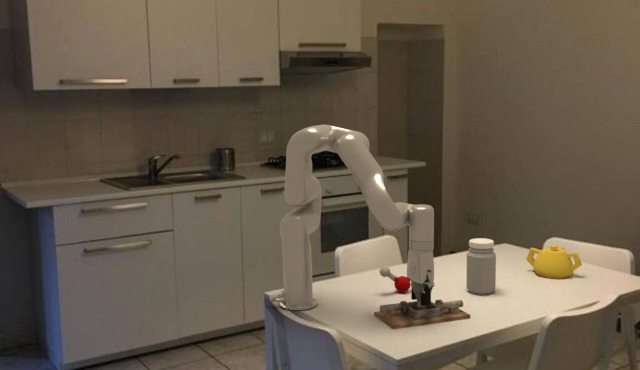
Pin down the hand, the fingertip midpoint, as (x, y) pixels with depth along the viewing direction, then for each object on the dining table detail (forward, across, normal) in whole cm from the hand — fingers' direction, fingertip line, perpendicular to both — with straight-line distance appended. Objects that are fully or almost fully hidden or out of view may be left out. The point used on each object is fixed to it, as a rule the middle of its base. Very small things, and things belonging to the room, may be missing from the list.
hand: (421, 301), depth 221 cm
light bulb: (+2, 0, 0) cm, 2 cm away
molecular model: (+5, -26, +6) cm, 27 cm away
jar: (+5, -16, +31) cm, 35 cm away
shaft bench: (+5, 0, 0) cm, 5 cm away
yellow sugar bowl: (+5, -26, +69) cm, 74 cm away
